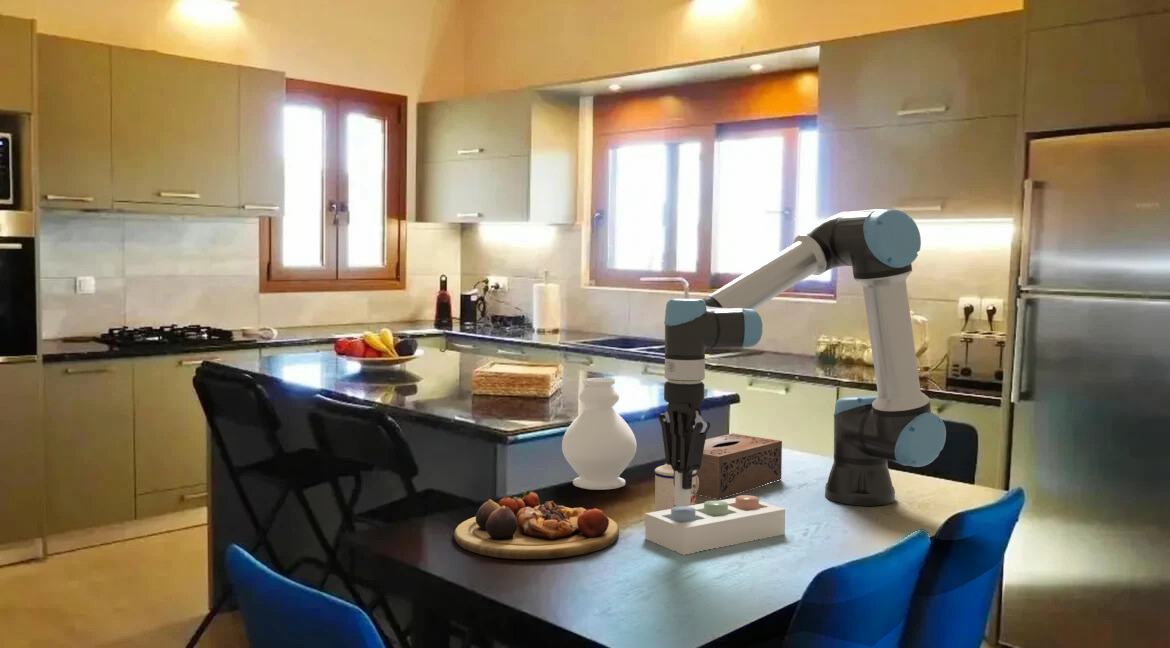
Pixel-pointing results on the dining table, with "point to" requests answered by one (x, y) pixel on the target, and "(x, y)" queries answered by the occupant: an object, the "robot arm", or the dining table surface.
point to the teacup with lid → (670, 488)
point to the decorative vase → (599, 439)
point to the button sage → (715, 508)
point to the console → (714, 527)
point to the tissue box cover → (738, 464)
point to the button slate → (683, 514)
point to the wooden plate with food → (535, 529)
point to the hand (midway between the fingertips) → (682, 504)
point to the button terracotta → (747, 502)
